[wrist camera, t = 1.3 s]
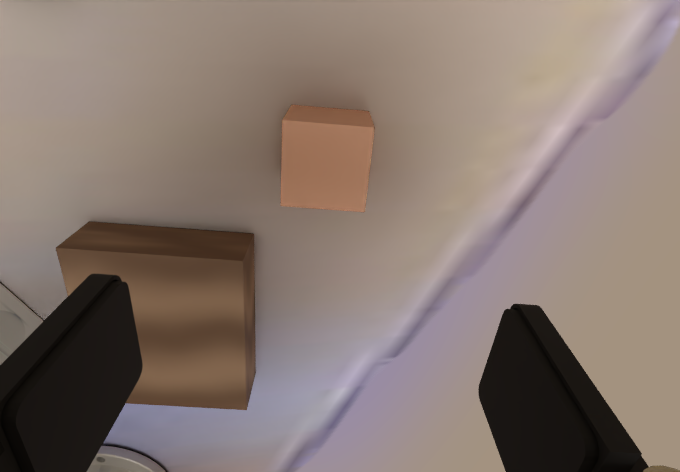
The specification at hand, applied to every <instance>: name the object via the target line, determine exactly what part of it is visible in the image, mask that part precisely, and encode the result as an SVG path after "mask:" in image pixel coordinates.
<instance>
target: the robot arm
mask: <svg viewBox="0 0 680 472" xmlns="http://www.w3.org/2000/svg"><path fill="white" fill-rule="evenodd" d="M142 367H143V363H142V357H141V352H140V346H139V341H138V335H137V330H136V325H135V319H134V314H133V308H132V303H131V297H130V292H129V287H128V284H127V283H126V282H123V281H122V280H121V278H120V277H119V276H118V275H109V274H95V273H94V274H91V275H89V276H88V277H87V278H86V279H85V280H84V281H83V282H82V283H81V284H80V285H79V286H78V287H77V288H76V289H75V290H74V291H73V292H72V293H71V294H70V295H69V296H68V297H67V298H66V299H65V300H64V301H63V302H62V303H61V304H60V305H59V306H58V307H57V308H56V309H55V310H54V311H53V312H52V313H51V314H50V315H49V316H48V317H47V318H46V319H45V320H44V321H43V322H42V323H41V324H40V325H39V326H38V327H37V328H36V329H35V331H34V332H33V333H32V334H31V335H30V336H29V337H28V338H27V339H26V340H25V341H24V342H23V343H22V344H21V345H20V346H19V347H18V348H17V349H16V350H15V351H14V352H13V353H12V354H11V355H10V356H9V357H8V358H7V359H6V360H5V361H4V362H3V363H2V364H1V365H0V472H166V471H165V470H164V469H163V468H162V467H160V466H159V465H158V464H157V463H155V462H154V461H152V460H151V459H149V458H147V457H145V456H143V455H141V454H139V453H136V452H133V451H130V450H127V449H123V448H118V447H112V446H102V444H103V442H104V440H105V439H106V437H107V435H108V433H109V431H110V430H111V428H112V426H113V424H114V423H115V421H116V419H117V417H118V416H119V414H120V412H121V410H122V408H123V407H124V405H125V403H126V401H127V400H128V398H129V396H130V394H131V392H132V391H133V389H134V387H135V385H136V384H137V382H138V380H139V378H140V376H141V373H142ZM479 398H480V402H481V404H482V407H483V410H484V413H485V415H486V418H487V421H488V424H489V426H490V429H491V432H492V435H493V438H494V440H495V443H496V446H497V449H498V451H499V454H500V457H501V460H502V462H503V465H504V468H505V471H506V472H680V471H679V470H677V469H674V468H670V467H666V466H650V467H648V465H647V464H646V462H645V461H644V459H643V458H642V456H641V454H642V453H641V452H640V451H639V449H638V448H637V446H636V445H635V443H634V442H633V440H632V439H631V437H630V436H629V434H628V433H627V432H626V430H625V429H624V427H623V426H622V424H621V423H620V421H619V420H618V419H617V417H616V416H615V414H614V413H613V411H612V410H611V408H610V407H609V406H608V404H607V403H606V401H605V400H604V398H603V397H602V395H601V394H600V392H599V391H598V390H597V388H596V387H595V385H594V384H593V382H592V381H591V379H590V378H589V377H588V375H587V374H586V372H585V371H584V369H583V368H582V366H581V365H580V363H579V362H578V361H577V359H576V358H575V356H574V355H573V353H572V352H571V350H570V349H569V348H568V346H567V345H566V344H565V342H564V340H563V339H562V338H561V336H560V335H559V333H558V332H557V330H556V329H555V327H554V326H553V324H552V323H551V322H550V320H549V319H548V317H547V316H546V314H545V313H544V311H543V310H542V309H541V308H540V306H537V305H525V304H513V305H512V306H511V309H506V310H505V311H504V313H503V315H502V318H501V321H500V324H499V327H498V330H497V333H496V336H495V339H494V343H493V345H492V348H491V351H490V354H489V357H488V360H487V363H486V366H485V369H484V372H483V375H482V378H481V381H480V384H479Z"/></svg>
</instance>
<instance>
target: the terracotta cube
mask: <svg viewBox="0 0 680 472" xmlns="http://www.w3.org/2000/svg"><path fill="white" fill-rule="evenodd" d="M374 130H375V127H374V124H373V121H372V119H371V116H370V113H369V111H360V110H348V109H336V108H325V107H313V106H301V105H291V107H290V108H289V110H288V111H287V113H286V115H285V116H284V118H283V120H282V161H281V206H288V207H302V208H315V209H329V210H342V211H355V212H365V206H366V197H367V189H368V180H369V172H370V164H371V155H372V147H373V138H374Z"/></svg>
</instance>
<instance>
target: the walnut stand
mask: <svg viewBox="0 0 680 472" xmlns="http://www.w3.org/2000/svg"><path fill="white" fill-rule="evenodd" d="M56 251H57V255H58V259H59V262H60V266H61V270H62V274H63V278H64V282H65V286H66V290H67V293H68V296H69V295H70V294H71V293H72V292H73V291H74V290H75V289H76V288H77V287H78V286H79V285H80V284H81V283H82V282H83V281H84V280H85V279H86V278H87V277H88V276H89V275H91V274H94V273H95V274H109V275H118V276H119V277H120V278H121V280H122V281H123V282H126V283H127V284H128V287H129V292H130V297H131V303H132V308H133V314H134V319H135V325H136V330H137V335H138V341H139V346H140V352H141V357H142V363H143V367H142V373H141V376H140V378H139V380H138V382H137V384H136V385H135V387H134V389H133V391H132V392H131V394H130V396H129V398H128V400H127V401H126V403H131V404H149V405H167V406H185V407H202V408H220V409H238V410H247V407H248V402H249V398H250V394H251V390H252V386H253V381H254V377H255V373H256V371H255V282H254V234H250V233H237V232H223V231H209V230H196V229H182V228H168V227H155V226H141V225H127V224H114V223H100V222H88V223H87V224H85V225H84V226H83V227H82V228H80V229H79V230H78V231H77V232H75V233H74V234H73V235H71V236H70V237H69V238H68V239H66V240H65V241H64V242H63V243H61V244H60V245H59V246H57V247H56Z"/></svg>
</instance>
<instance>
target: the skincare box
mask: <svg viewBox="0 0 680 472" xmlns="http://www.w3.org/2000/svg"><path fill="white" fill-rule="evenodd" d="M42 322H43V320H42V319H41V318H40V317H38V316H37V315H36V314H35V313H34V312H33V311H32V310H30V309H29V308H28V307H27V306H26V305H25V304H24V303H22V302H21V301H20V300H19V299H18V298H17V297H16V296H14V295H13V294H12V293H11V292H10V291H9V290H8V289H7V288H5V287H4V286H3V285H2V284H1V283H0V365H1V364H2V363H3V362H4V361H5V360H6V359H7V358H8V357H9V356H10V355H11V354H12V353H13V352H14V351H15V350H16V349H17V348H18V347H19V346H20V345H21V344H22V343H23V342H24V341H25V340H26V339H27V338H28V337H29V336H30V335H31V334H32V333H33V332H34V331H35V329H36V328H37V327H38V326H39V325H40V324H41V323H42Z"/></svg>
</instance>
